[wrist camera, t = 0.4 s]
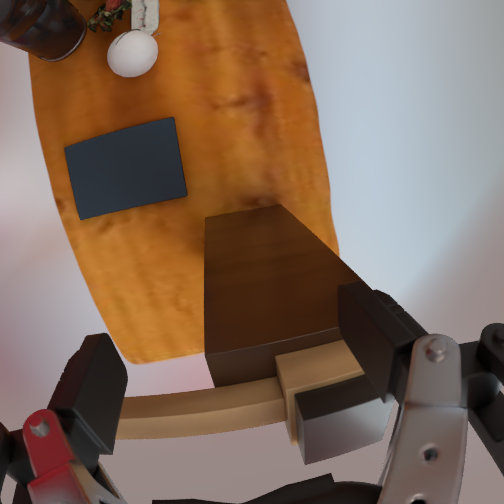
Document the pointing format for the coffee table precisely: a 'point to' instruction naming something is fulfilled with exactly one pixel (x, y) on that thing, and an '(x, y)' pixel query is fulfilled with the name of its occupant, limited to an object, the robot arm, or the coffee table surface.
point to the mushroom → (114, 8)
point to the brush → (275, 406)
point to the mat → (126, 169)
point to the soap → (145, 15)
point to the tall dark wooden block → (266, 292)
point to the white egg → (132, 53)
